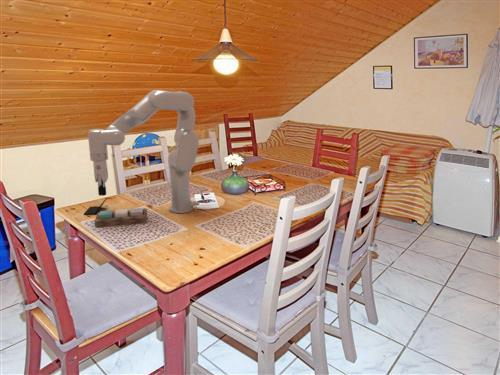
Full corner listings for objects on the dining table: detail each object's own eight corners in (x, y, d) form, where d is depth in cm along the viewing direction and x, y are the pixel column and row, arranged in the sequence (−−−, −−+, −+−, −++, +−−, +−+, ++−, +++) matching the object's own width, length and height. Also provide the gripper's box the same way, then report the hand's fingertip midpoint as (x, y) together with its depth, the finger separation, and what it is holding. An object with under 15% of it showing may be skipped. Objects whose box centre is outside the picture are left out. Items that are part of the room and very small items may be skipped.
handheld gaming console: (85, 205, 199) (95, 191, 198) (98, 212, 203) (108, 198, 201) (82, 216, 189) (93, 201, 188) (95, 222, 193) (106, 208, 191)
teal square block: (113, 214, 184) (112, 210, 184) (112, 219, 179) (111, 214, 178) (101, 215, 183) (100, 211, 182) (99, 220, 178) (98, 215, 177)
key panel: (146, 214, 192) (146, 208, 191) (146, 222, 181) (146, 216, 180) (98, 218, 186) (97, 211, 185) (95, 227, 175) (94, 220, 174)
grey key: (143, 212, 188) (142, 207, 187) (142, 216, 182) (142, 211, 182) (131, 213, 186) (130, 208, 186) (130, 217, 181) (130, 212, 180)
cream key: (128, 213, 186) (127, 209, 185) (127, 217, 181) (127, 213, 180) (116, 214, 185) (115, 210, 184) (115, 218, 179) (114, 214, 179)
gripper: (106, 159, 166) (109, 199, 171) (109, 153, 180) (112, 190, 185) (87, 160, 165) (91, 200, 170) (92, 153, 178) (96, 190, 184)
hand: (102, 194), depth 177 cm, fingers closed
